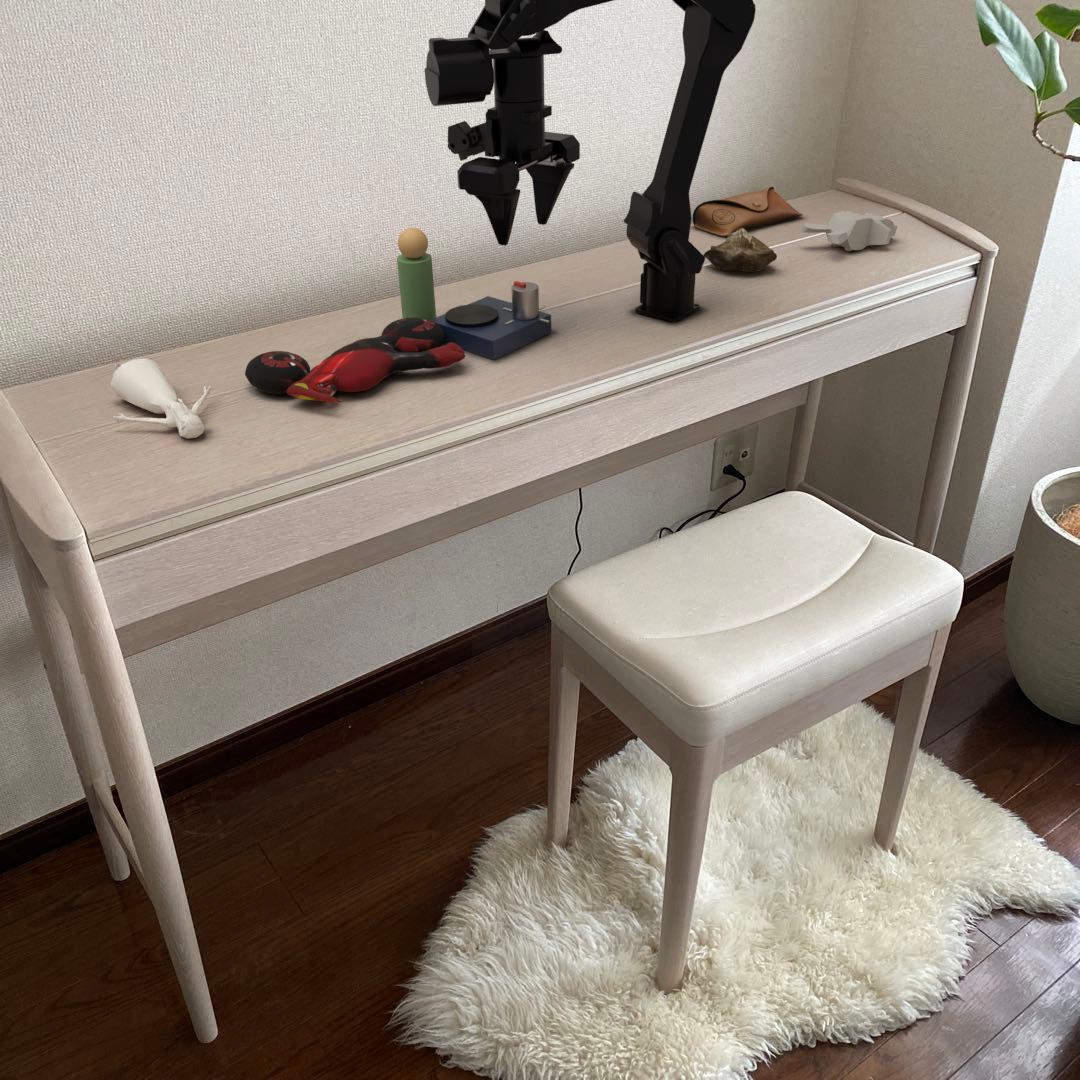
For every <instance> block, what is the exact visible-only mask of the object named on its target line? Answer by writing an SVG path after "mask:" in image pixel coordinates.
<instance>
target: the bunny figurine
mask: <svg viewBox="0 0 1080 1080" xmlns="http://www.w3.org/2000/svg"><path fill="white" fill-rule="evenodd" d="M897 230H898V225H896V224H894V221H893V220H891V219H889V218H887V217H883V216H880V215H878V214H875V213H871V212H865V213H864V214H860V213H857V212H853V211H850V210H841V211H836V212H834V213H833V215H832V216H831V219H830V221H829V223H828V224H821V223H820V224H819V223H807V222H806V223H804V224H802V226H801V229H800V231H799V232H800V233H806V234H808V233H809V234H811V233H812V234H813V233H817V234H818V233H824V234H825V236H826V238H827V241H828V243H831V246H832V247H834V248H837V247H843V248H844V251H846V252H851V251H861V250H864V249H865V248H866V247H868V246H885V245H889V244H890V242H891V238H893V237H895V236H896V234H897Z"/></svg>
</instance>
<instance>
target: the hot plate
mask: <svg viewBox="0 0 1080 1080" xmlns="http://www.w3.org/2000/svg"><path fill="white" fill-rule="evenodd" d="M473 304H476V305H486V306H490V307H493V308H495V309H496V310H497V311H498V313H499V318H498V320H497V321H495V322H494V323H492V324H490V325H486V326H482V327H475V328H464V327H457V326H453V325H451V324H449V323H447V322H446V320H445V314H446V313H445V314H444V313H443V314H441V315H439V316H436V318H434V319H432V320H431V321H434V322H435V323H437V324H438V325H439V326H440V327H441V328H442V330H443V334H444V342H443V344H445V345H446V344H448V343H449V342H453V343H455V344H457V345H458V346H459V347H460V348H462V349H463V350H464V352H465V351H466V352H468V353H471V354H475V355H478V356H479V357H483V358H486V359H489V360H491V361H495V360H497V359H499V358H502V357H504V356H506V355H508V354H511V353H512V352H514V351H517V350H518V349H521V348H523V347H525V346H527V345H529V344H532V343H533V342H535V341H537V340H539V339H542V338H544V337H546V336H548V335H550V334H552V314H551V313H549V312H548V313H547V312H544V311H541V310H544V309H545V308H547V306H546V305H542V306H539V316H538V317H537V318H535V319H531V320H519V319H516V318H514V317H513V315H512V302H510V301H506V300H503V299H500V298H496V297H493V296H489V295H487V296H485V297H482V298H480V299H477V300H475V301H472V302H471V303H468V304H467V305H473Z"/></svg>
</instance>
